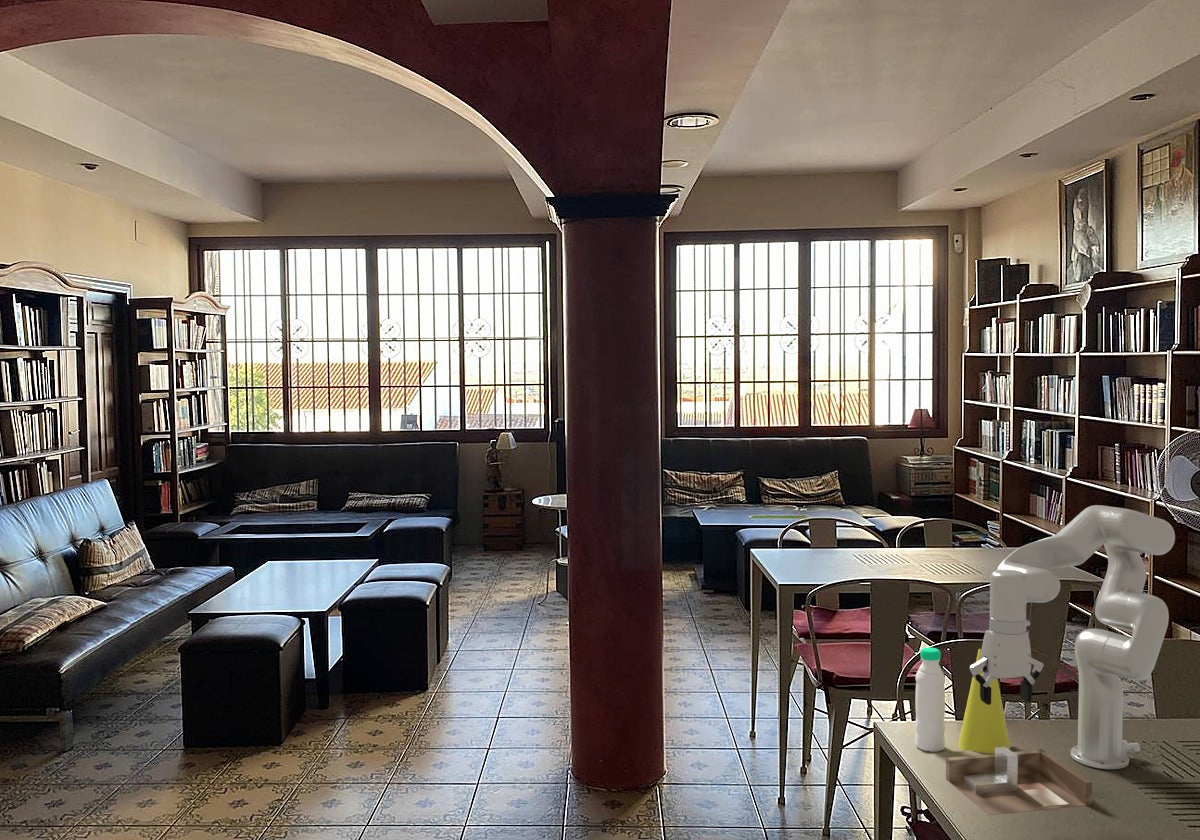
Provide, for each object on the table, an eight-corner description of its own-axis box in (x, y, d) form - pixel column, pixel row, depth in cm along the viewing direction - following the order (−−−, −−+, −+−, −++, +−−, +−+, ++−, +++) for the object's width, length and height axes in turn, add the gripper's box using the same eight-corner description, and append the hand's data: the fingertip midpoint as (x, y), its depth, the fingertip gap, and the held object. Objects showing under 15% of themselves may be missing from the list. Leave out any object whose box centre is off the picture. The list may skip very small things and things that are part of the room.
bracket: (1004, 780, 227) (1005, 746, 227) (1017, 790, 223) (1017, 755, 222) (964, 784, 226) (964, 750, 225) (975, 794, 221) (976, 759, 220)
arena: (1041, 774, 233) (1042, 749, 232) (1091, 809, 215) (1092, 782, 215) (945, 783, 229) (946, 757, 229) (988, 819, 211) (988, 791, 211)
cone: (958, 735, 257) (959, 640, 255) (1010, 741, 252) (1011, 644, 251) (957, 754, 245) (958, 654, 244) (1011, 760, 241) (1012, 659, 239)
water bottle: (946, 753, 246) (947, 654, 244) (916, 751, 247) (917, 652, 245) (942, 742, 252) (943, 645, 251) (913, 740, 254) (914, 644, 252)
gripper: (1033, 619, 227) (1031, 693, 228) (962, 623, 225) (961, 698, 226) (1053, 628, 220) (1051, 704, 221) (980, 632, 217) (979, 709, 218)
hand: (1005, 701), depth 223 cm, fingers open, 9 cm apart
